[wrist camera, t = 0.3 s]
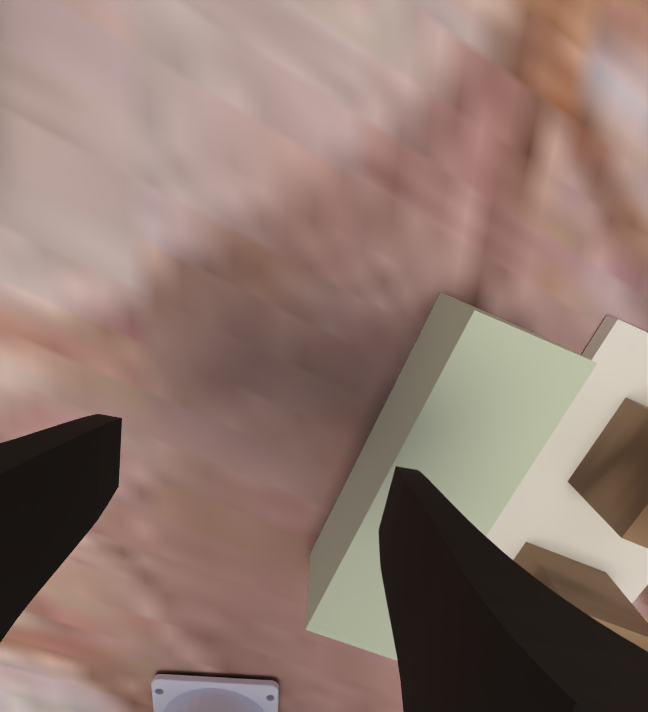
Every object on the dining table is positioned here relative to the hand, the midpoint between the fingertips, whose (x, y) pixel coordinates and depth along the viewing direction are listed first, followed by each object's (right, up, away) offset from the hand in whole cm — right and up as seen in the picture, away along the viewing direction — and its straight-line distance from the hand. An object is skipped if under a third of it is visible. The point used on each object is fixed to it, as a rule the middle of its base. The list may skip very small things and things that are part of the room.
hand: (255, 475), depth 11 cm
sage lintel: (+6, -2, +11) cm, 13 cm away
